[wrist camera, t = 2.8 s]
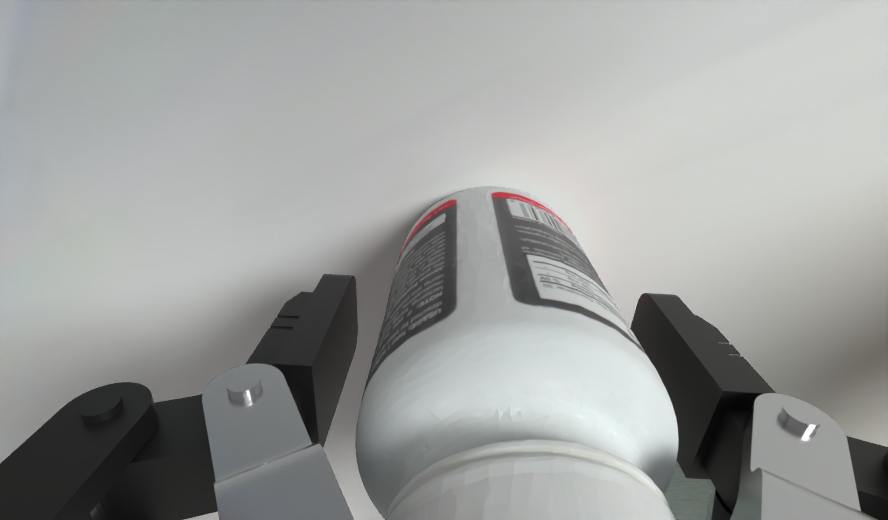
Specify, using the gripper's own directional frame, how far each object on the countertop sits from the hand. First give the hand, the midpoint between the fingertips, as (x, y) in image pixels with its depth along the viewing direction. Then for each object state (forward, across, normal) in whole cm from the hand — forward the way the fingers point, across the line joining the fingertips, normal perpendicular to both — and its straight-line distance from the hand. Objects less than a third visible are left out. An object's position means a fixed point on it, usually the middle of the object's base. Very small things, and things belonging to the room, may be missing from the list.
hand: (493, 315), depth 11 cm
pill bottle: (+3, 0, 0) cm, 3 cm away
